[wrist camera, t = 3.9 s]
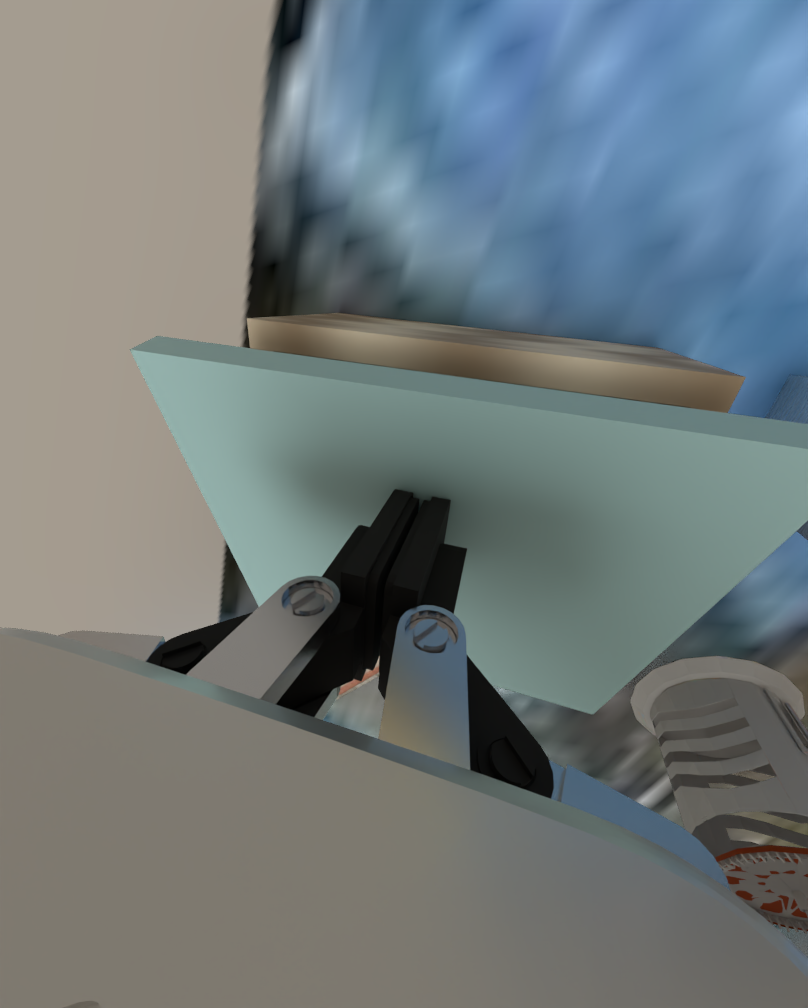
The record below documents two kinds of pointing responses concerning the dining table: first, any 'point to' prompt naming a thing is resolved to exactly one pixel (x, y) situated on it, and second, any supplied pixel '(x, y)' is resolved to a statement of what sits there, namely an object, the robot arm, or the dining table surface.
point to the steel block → (792, 411)
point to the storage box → (503, 357)
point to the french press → (736, 770)
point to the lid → (491, 497)
